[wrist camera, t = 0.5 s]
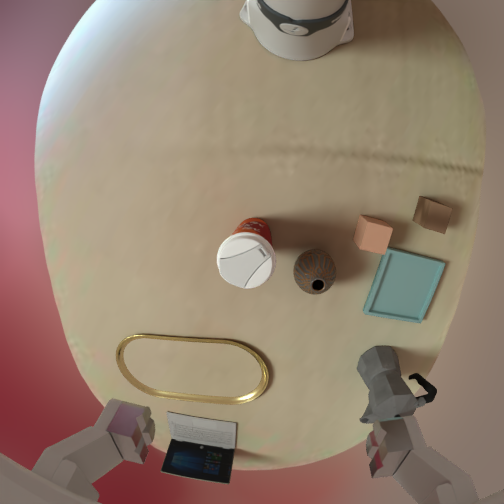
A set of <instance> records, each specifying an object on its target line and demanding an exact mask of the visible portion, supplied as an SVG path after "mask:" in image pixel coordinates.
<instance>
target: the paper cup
mask: <svg viewBox="0 0 504 504" xmlns="http://www.w3.org/2000/svg"><path fill="white" fill-rule="evenodd" d="M217 264H218V268H219V271H220V274H221V276H222V277H223V278H224V279H225V280H226V281H227V282H229V283H230V284H233V285H235V286H238V287H241V288H246V289H248V288H254V287H257V286H259V285H262V284H263V283H265V282H266V281H267V280H268V279H269V278H270V277H271V276H272V274H273V272H274V270H275V267H276V255H275V252H274V250H273V247H272V240H271V233H270V229H269V227H268V225H267V224H266V223H265V222H264V221H263V220H261V219H258V218H249V219H246V220H244V221H243V222H242V223H241V224H240V225H239V226H238V227H237V229H236V230H235V231H234V232H233V234H232V235H231V236H230V237H228V238H227V239H226V240H225V241H224V242H223V243H222V244H221V246H220V248H219V251H218V254H217Z"/></svg>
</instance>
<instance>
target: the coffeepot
mask: <svg viewBox="0 0 504 504" xmlns="http://www.w3.org/2000/svg"><path fill="white" fill-rule="evenodd" d="M357 370H358V372H359V374H360V375H361V377H362V379H363V380H364V382H365V384H366V386H367V387H368V388H369V389H370V391H369V394H368V395H369V404H368V406H367V408H366V411H365V413H364V414H363V416H362V417H361V418H360V421H361V422H362V423H366V424H367V423H374V422H375V421H376V420H378V419H387V418H395V417H405V416H412V415H413V414H414V412H415V410H416V408H418V407H421V406H423V405H425V404H426V403H429V402H432V401H433V400H434V398H435V395H436V393H437V389H436V388H435V387H434V386H433V385H431V384H430V383H429V382H428V381H426V380H425V379H424V378H423V377H422V376H421V375H419V374H418V373H415V374H412V375H410V376H409V380H410V379H416V380H417V382H418V384H420V385H421V386H423V388H424V389H425V390H426V391H427V392H428V394H426V395H423V396H419V397H415V396H414V395H413V393H412V392H411V390H410V389H409V387H408V386H407V385H406V383H405V382H404V380H403V379H402V378H401V371H400V366H399V361H398V356H397V354H396V353H395V352H394V350H393V349H392V348H391V347H390V346H375V347H373V348H371V349H369V350H367V351H366V352H365V353H364V354H363V355H362V356H361V357H360V359H359V362H358V367H357Z"/></svg>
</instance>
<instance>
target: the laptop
mask: <svg viewBox="0 0 504 504" xmlns="http://www.w3.org/2000/svg"><path fill="white" fill-rule="evenodd" d="M167 418H168V423H169V428H170V433H171V438H173V439H171V442H170V445H169V447H168V450H167V453H166V456H165V459H164V462H163V465H162V468H161V472H163V473H167V474H172V475H176V476H181V477H186V478H192V479H197V480H203V481H209V482H216V483H222V484H229V483H230V477H231V471H232V464H233V458H234V452H235V449H232V448H235V442H236V423H234V422H225V421H218V420H211V419H204V418H198V417H192V416H186V415H181V414H176V413H171V412H167ZM187 441H188V442H187ZM192 442H193V443H192ZM198 443H199V444H198ZM204 444H205V445H204ZM210 445H211V446H210ZM217 446H218V447H217Z"/></svg>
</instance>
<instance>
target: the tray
mask: <svg viewBox="0 0 504 504" xmlns="http://www.w3.org/2000/svg"><path fill="white" fill-rule="evenodd" d="M444 267H445V263H444V262H443V261H441V260H437V259H433V258H429V257H426V256H422V255H418V254H414V253H410V252H406V251H402V250H398V249H394V248H390V247H387V250H386V253H385V255H382V258H381V261H380V264H379V267H378V270H377V273H376V276H375V279H374V281H373V284H372V287H371V290H370V292H369V295H368V298H367V300H366V303H365V306H364V308H363V312H364V314H366V315H372V316H378V317H384V318H390V319H396V320H402V321H408V322H415V323H421V322H422V320H423V317H424V315H425V313H426V311H427V309H428V306H429V304H430V302H431V299H432V297H433V295H434V292H435V290H436V287H437V285H438V282H439V280H440V277H441V275H442V272H443V269H444Z"/></svg>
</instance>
